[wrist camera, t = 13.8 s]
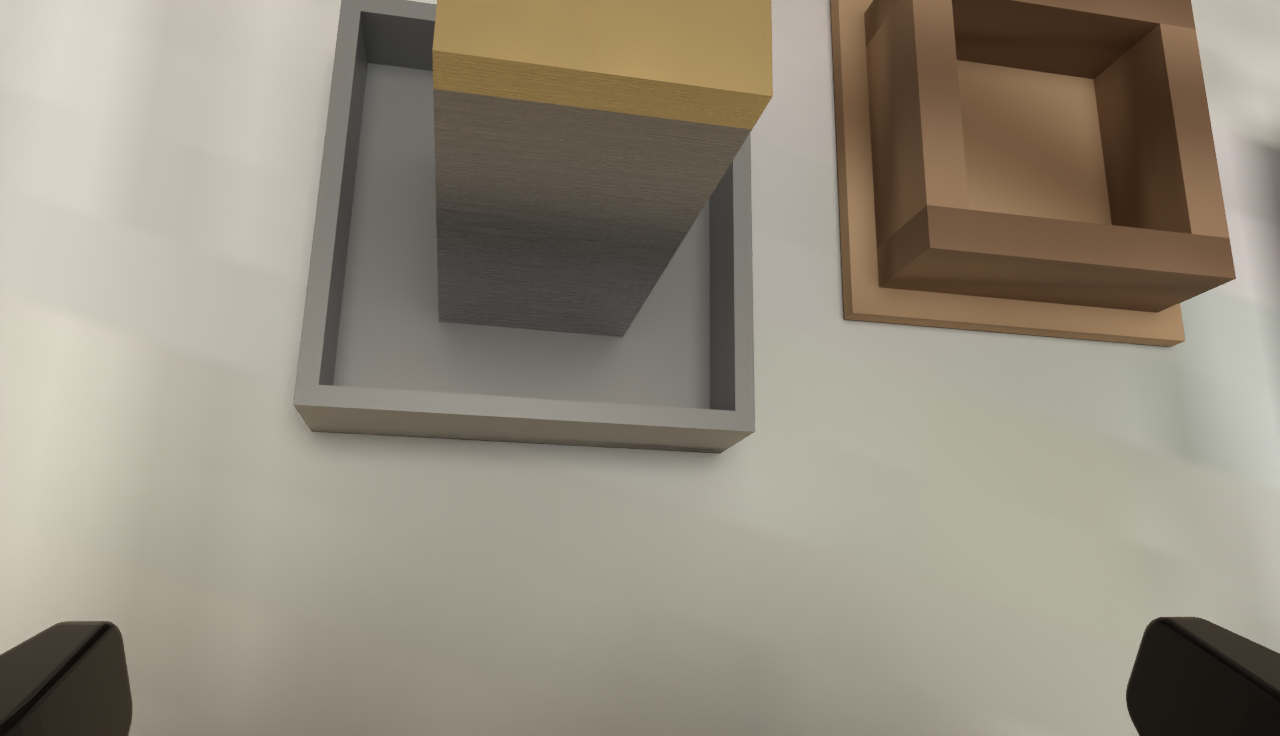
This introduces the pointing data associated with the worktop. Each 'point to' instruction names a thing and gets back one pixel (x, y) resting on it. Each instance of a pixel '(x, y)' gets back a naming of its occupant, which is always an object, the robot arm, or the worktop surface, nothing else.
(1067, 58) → the holder
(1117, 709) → the worktop surface
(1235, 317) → the worktop surface
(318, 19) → the worktop surface
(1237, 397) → the worktop surface
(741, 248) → the tray
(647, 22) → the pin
